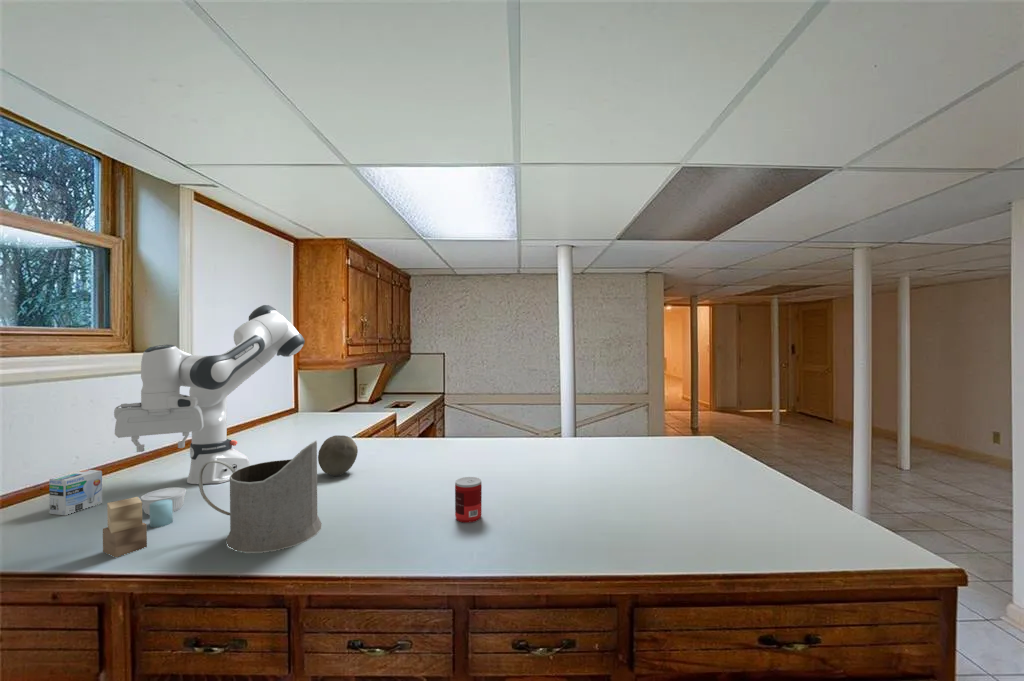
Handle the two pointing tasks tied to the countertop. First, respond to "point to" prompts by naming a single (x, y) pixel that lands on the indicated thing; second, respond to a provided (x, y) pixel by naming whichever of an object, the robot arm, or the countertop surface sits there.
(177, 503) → the ramekin
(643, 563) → the countertop surface
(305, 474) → the pitcher
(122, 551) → the walnut block
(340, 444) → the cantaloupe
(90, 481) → the light bulb box
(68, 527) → the countertop surface
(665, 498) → the countertop surface
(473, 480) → the canned food
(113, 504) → the oak block
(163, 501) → the teal tapered block
